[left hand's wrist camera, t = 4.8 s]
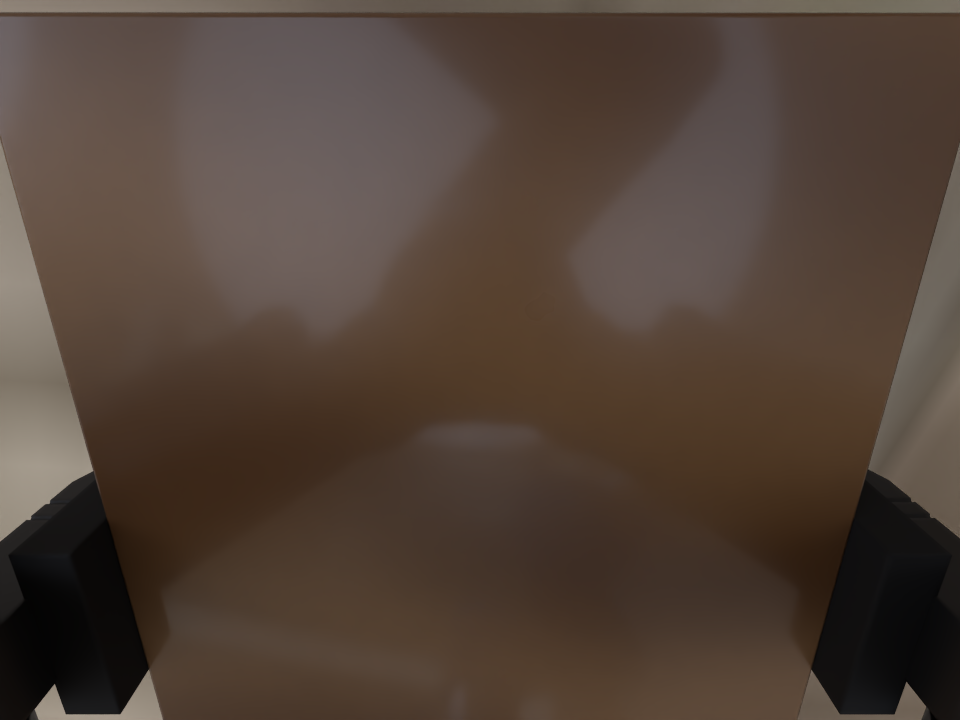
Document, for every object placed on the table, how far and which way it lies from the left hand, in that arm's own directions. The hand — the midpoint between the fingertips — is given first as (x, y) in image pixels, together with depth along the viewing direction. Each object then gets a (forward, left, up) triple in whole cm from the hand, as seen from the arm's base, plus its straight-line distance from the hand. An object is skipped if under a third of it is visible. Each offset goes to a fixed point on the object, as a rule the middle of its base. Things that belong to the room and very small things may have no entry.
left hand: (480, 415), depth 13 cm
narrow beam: (+2, +21, -1) cm, 21 cm away
